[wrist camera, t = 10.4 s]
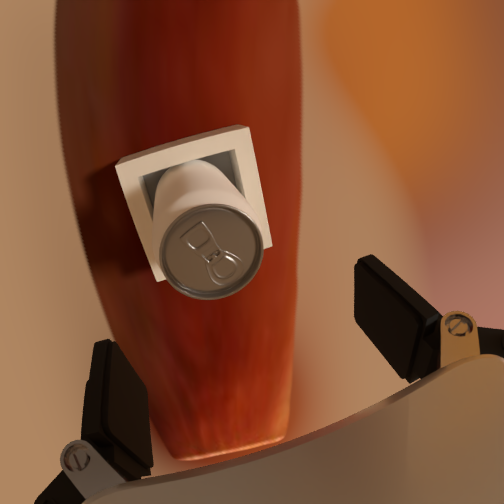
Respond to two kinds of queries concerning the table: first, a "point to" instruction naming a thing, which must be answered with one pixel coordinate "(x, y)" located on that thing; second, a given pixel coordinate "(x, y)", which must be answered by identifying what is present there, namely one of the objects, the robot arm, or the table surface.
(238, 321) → the table surface
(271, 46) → the table surface
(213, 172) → the can
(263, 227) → the dock socket
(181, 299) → the table surface
